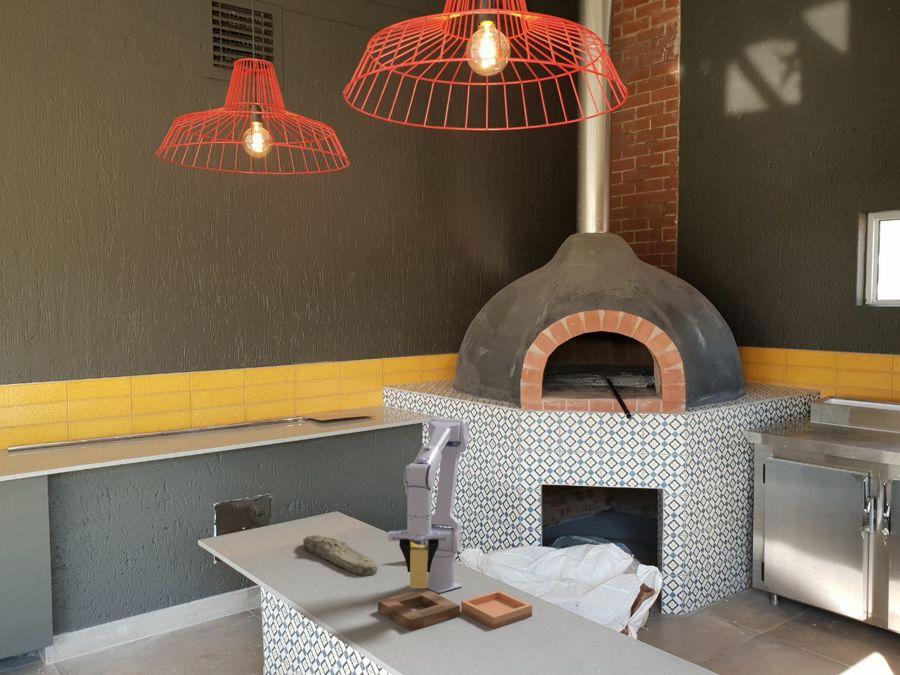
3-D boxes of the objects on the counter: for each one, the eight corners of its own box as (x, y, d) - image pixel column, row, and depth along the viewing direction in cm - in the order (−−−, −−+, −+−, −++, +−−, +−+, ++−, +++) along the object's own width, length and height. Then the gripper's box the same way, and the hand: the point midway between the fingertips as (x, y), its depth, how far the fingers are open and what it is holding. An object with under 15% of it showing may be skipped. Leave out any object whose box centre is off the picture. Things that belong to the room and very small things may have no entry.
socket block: (377, 611, 180) (378, 600, 180) (425, 597, 189) (425, 588, 189) (411, 631, 169) (411, 620, 169) (459, 616, 178) (459, 605, 177)
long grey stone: (355, 585, 201) (386, 579, 207) (357, 566, 201) (387, 560, 207) (293, 546, 228) (322, 541, 234) (294, 529, 228) (323, 525, 234)
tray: (461, 611, 180) (461, 601, 180) (498, 600, 188) (498, 590, 188) (493, 628, 171) (494, 617, 171) (532, 615, 178) (532, 605, 178)
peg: (410, 588, 177) (410, 550, 176) (410, 581, 181) (411, 544, 180) (427, 588, 177) (427, 550, 176) (427, 582, 181) (427, 545, 180)
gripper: (387, 518, 174) (387, 576, 174) (450, 518, 174) (449, 576, 175) (389, 510, 181) (389, 566, 181) (449, 510, 181) (449, 566, 182)
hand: (418, 570), depth 178 cm, fingers closed on peg, 4 cm apart
